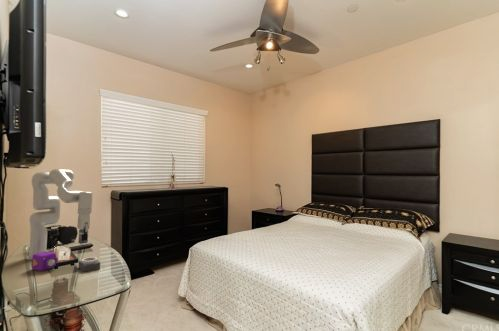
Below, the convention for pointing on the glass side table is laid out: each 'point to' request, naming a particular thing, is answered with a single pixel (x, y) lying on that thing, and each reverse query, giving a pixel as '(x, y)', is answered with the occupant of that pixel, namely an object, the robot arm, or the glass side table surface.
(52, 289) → the glass side table surface
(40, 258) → the toy camera
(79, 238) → the lens
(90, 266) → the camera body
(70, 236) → the movie camera
